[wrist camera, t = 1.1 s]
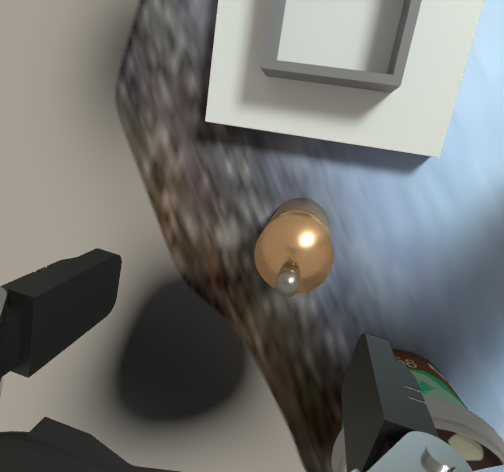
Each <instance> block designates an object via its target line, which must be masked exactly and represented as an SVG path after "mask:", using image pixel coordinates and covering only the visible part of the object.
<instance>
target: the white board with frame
mask: <svg viewBox="0 0 504 472" xmlns="http://www.w3.org/2000/svg"><path fill="white" fill-rule="evenodd" d="M484 2H485V0H218V8H217V17H216V26H215V36H214V45H213V54H212V63H211V72H210V82H209V91H208V100H207V109H206V118H205V121H206V122H211V123H217V124H223V125H229V126H236V127H242V128H249V129H255V130H262V131H268V132H275V133H281V134H288V135H294V136H301V137H307V138H314V139H320V140H327V141H333V142H340V143H346V144H353V145H359V146H366V147H372V148H379V149H385V150H392V151H398V152H405V153H411V154H417V155H424V156H430V157H440V153H441V150H442V146H443V143H444V140H445V136H446V133H447V129H448V126H449V122H450V119H451V115H452V112H453V109H454V105H455V102H456V98H457V95H458V91H459V88H460V84H461V81H462V78H463V74H464V71H465V67H466V64H467V60H468V57H469V53H470V50H471V47H472V43H473V40H474V36H475V33H476V29H477V26H478V22H479V19H480V16H481V12H482V9H483V5H484Z"/></svg>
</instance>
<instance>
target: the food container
mask: <svg viewBox="0 0 504 472" xmlns="http://www.w3.org/2000/svg"><path fill="white" fill-rule="evenodd" d="M392 352H393V355H394V357H395V360H396V361H398V362H401V363H404V365H405V366H406V367H407V368H408V369H409V370H410V372H411V373H412V374H413V375H414V376H415V378H416V380H417V383H418V385H419V388H420V392H421V393H422V396H423V398H424V401H425V402H424V404H426V406H427V408H428V411H429V413H430V416H431V418H432V421H433V423H434V426H435V428H436V431H437V433H438V436H439V438H440V439H441V440H443V441H444V442H446V443H447V444H449V445H450V446H451V447H452V448H454V449H455V450H456V451H457V452H458V453H459V454H460V455H461V456H462V457H463V458H464V459H465V460H466V462H467V463H468V464H469V466H470V467H471V469H472V471H475V470H479V469H484V468H489V467H494V466H499V465H503V464H504V442H503V440H502V439H501V437H500V436H499V435H498V434H497V433H496V431H495V430H494V429H493V428H492V427H491V426H490V425H489V424H487V423H486V422H485V421H484V420H483V419H481V418H480V417H478V416H477V415H475V414H474V413H472V412H470V411H469V410H468V409H467V408H466V406H465V405H464V404H463V402H462V401H461V400H460V398H459V397H458V396H457V394H456V393H455V392H454V390H453V389H452V387H451V386H450V385H449V383H448V382H447V381H446V379H445V378H444V377H443V375H442V374H441V373H440V371H439V370H438V369H436V368H435V367H434V366H433V365H432V364H431V363H430V362H429V361H428V360H426V359H424V358H422V357H420V356H418V355H416V354H414V353H411V352H406V351H400V350H392ZM332 470H333V472H347V466H346V452H345V439H344V425H343V415H342V430H341V431H340V433H339V435H338V436H337V438H336V441H335V444H334V447H333V452H332Z"/></svg>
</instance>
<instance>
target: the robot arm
mask: <svg viewBox="0 0 504 472" xmlns="http://www.w3.org/2000/svg"><path fill="white" fill-rule="evenodd" d="M121 263H122V261H121V257H120V255H117V254H114V253H111V252H108V251H104V250H101V249H94V250H92V251H90V252H88V253H85V254H83V255H81V256H79V257H76V258H70V259H65V260H60V261H58V262H55V263H53V264H51V265H48V266H47V268H46V267H44V268H41V269H39V270H37V271H36V272H32V273H30V274H28V275H25V276H23V277H21V278H19V279H16V280H14V281H12V282H9V283H7V284H5V285H2V286H0V395H1V390H2V386H3V376H4V375H5V374H7V373H8V372H9V371H12V372H15V373H17V374H20V375H23V376H25V377H28V378H29V377H30V376H31V375H33V374H34V373H35V372H37V371H38V370H39V369H40V368H42V367H43V366H44V365H45V364H47V363H48V362H49V361H51V360H52V359H53V358H54V357H56V356H57V355H58V354H59V353H61V352H62V351H63V350H65V349H66V348H67V347H68V346H69V345H71V344H72V343H73V342H74V341H76V340H77V339H78V338H80V337H81V336H82V335H84V334H85V333H86V332H87V331H89V330H90V329H91V328H92V327H94V326H95V325H96V324H97V323H99V322H100V321H101V320H103V319H104V318H105V317H106V316H107V315H108V314H109V313H110V312H111V310H112V309H113V307H114V305H115V302H116V298H117V291H118V284H119V278H120V271H121ZM341 398H342V412H343V425H344V439H345V452H346V466H347V472H473V471H472V469H471V467H470V466H469V464H468V463H467V462H466V460H465V459H464V458H463V457H462V456H461V455H460V454H459V453H458V452H457V451H456V450H455V449H454V448H452V447H451V446H450V445H449V444H447V443H446V442H444V441H443V440H441V439H440V438H439V436H438V433H437V431H436V428H435V426H434V423H433V421H432V418H431V416H430V413H429V411H428V408H427V406H426V404H424V402H425V401H424V398H423V396H422V393H421V392H420V388H419V385H418V383H417V380H416V378H415V376H414V375H413V374H412V373H411V372H410V370H409V369H408V368H407V367H406V366H405V365H404V363H401V362H398V361H396V360H395V357H394V355H393V352H392V349H391V346H390V343H389V341H386V340H383V339H380V338H377V337H374V336H371V335H367V334H362V335H361V337H360V339H359V341H358V343H357V346H356V349H355V351H354V354H353V356H352V359H351V362H350V364H349V367H348V369H347V372H346V375H345V378H344V381H343V386H342V394H341ZM0 472H178V471H170V470H162V469H154V468H146V467H137V466H133V465H131V464H129V463H127V462H126V461H125V460H123V459H122V458H121V457H119V456H118V455H117V454H115V453H114V452H113V451H112V450H110V449H109V448H108V447H106V446H105V445H104V444H102V443H101V442H100V441H99V440H97V439H96V438H95V437H93V436H92V435H91V434H88V433H86V432H83V431H80V430H78V429H75V428H73V427H70V426H68V425H65V424H62V423H60V422H57V421H55V420H52V419H50V418H47V417H44V418H43V419H42V420H41V421H40V422H39V423H38V424H37V425H36V426H35V427H34V428H33V429H32V430H31V431H30V432H11V431H10V432H0Z"/></svg>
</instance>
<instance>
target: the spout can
mask: <svg viewBox="0 0 504 472" xmlns="http://www.w3.org/2000/svg"><path fill="white" fill-rule="evenodd" d="M254 259H255V264H256V267H257V270H258V272H259V274H260V275H261V277H262V278H263V279H264V281H265V282H267V283H268V284H269V285H270V286H272V287H273V288H275V289H276V291H277V292H278V294H280V295H281V296H283V297H291V296H294V295H295V294H297V293H304V292H308V291H310V290H312V289H314V288H316V287H318V286H319V285H320V284H321V283H322V282H323V281H324V280H325V279H326V278H327V276H328V275H329V273H330V270H331V267H332V263H333V251H332V243H331V235H330V228H329V220H328V217H327V214H326V213H325V211H324V210H323V208H322V207H321V206H320V205H319V204H317V203H316V202H314V201H312V200H309V199H305V198H296V199H291V200H289V201H287V202H285V203H283V204H282V205H281V206H280V207H279V208H278V209H277V211H276V212H275V214H274V215H273V217H272V218H271V220H270V221H269V223H268V224H267V226H266V227H265V229H264V230H263V232H262V233H261V235H260V237H259V238H258V240H257V243H256V246H255V252H254Z"/></svg>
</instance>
